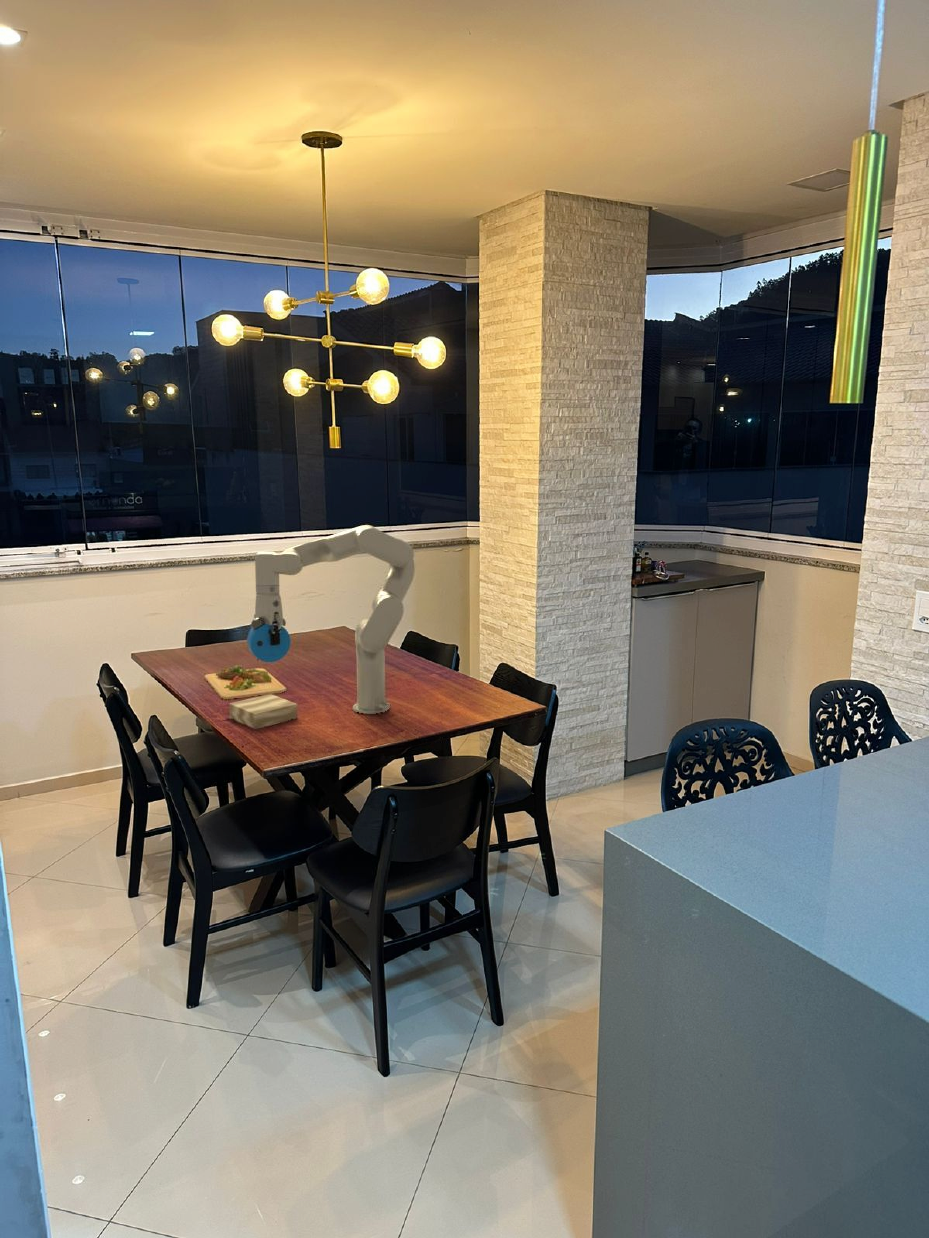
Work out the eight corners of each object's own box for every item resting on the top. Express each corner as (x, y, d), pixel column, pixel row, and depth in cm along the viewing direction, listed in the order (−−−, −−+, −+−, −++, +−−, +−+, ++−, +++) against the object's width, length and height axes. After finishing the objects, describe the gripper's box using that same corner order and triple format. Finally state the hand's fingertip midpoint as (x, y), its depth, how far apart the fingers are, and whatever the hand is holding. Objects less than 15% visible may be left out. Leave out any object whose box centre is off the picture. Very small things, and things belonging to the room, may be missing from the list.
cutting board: (287, 693, 314) (287, 674, 313) (223, 702, 303) (222, 681, 302) (263, 671, 344) (262, 653, 343) (203, 678, 334) (202, 660, 332)
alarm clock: (286, 657, 288) (285, 613, 285) (291, 661, 282) (290, 617, 279) (247, 660, 282) (245, 616, 279) (251, 665, 276) (250, 619, 274)
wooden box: (297, 718, 283) (297, 703, 282) (255, 729, 272) (254, 714, 271) (271, 707, 295) (270, 693, 294) (229, 717, 284) (228, 703, 283)
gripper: (292, 592, 274) (293, 645, 277) (263, 585, 286) (264, 636, 290) (271, 594, 269) (272, 649, 272) (243, 587, 281) (245, 639, 285)
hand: (268, 642), depth 281 cm, fingers closed on alarm clock, 7 cm apart
